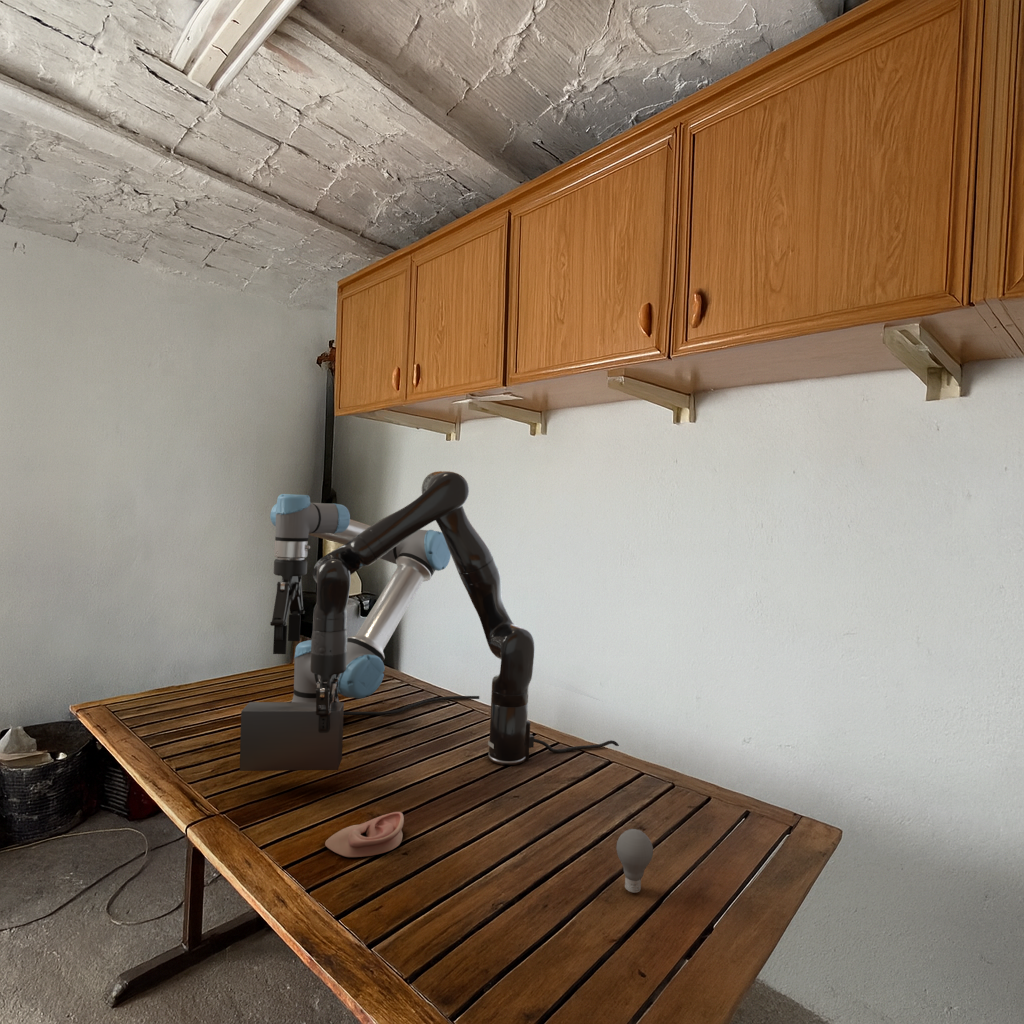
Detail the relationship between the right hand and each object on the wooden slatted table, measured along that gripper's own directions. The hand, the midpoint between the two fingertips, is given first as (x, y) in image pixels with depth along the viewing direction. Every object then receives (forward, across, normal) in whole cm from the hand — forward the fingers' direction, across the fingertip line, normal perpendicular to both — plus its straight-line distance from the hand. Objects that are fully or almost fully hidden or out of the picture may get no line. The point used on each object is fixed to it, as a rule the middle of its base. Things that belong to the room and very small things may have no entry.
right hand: (326, 726), depth 137 cm
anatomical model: (+14, -22, -11) cm, 28 cm away
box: (+8, 0, +7) cm, 11 cm away
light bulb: (+14, -38, -57) cm, 70 cm away
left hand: (-13, +16, +12) cm, 24 cm away
